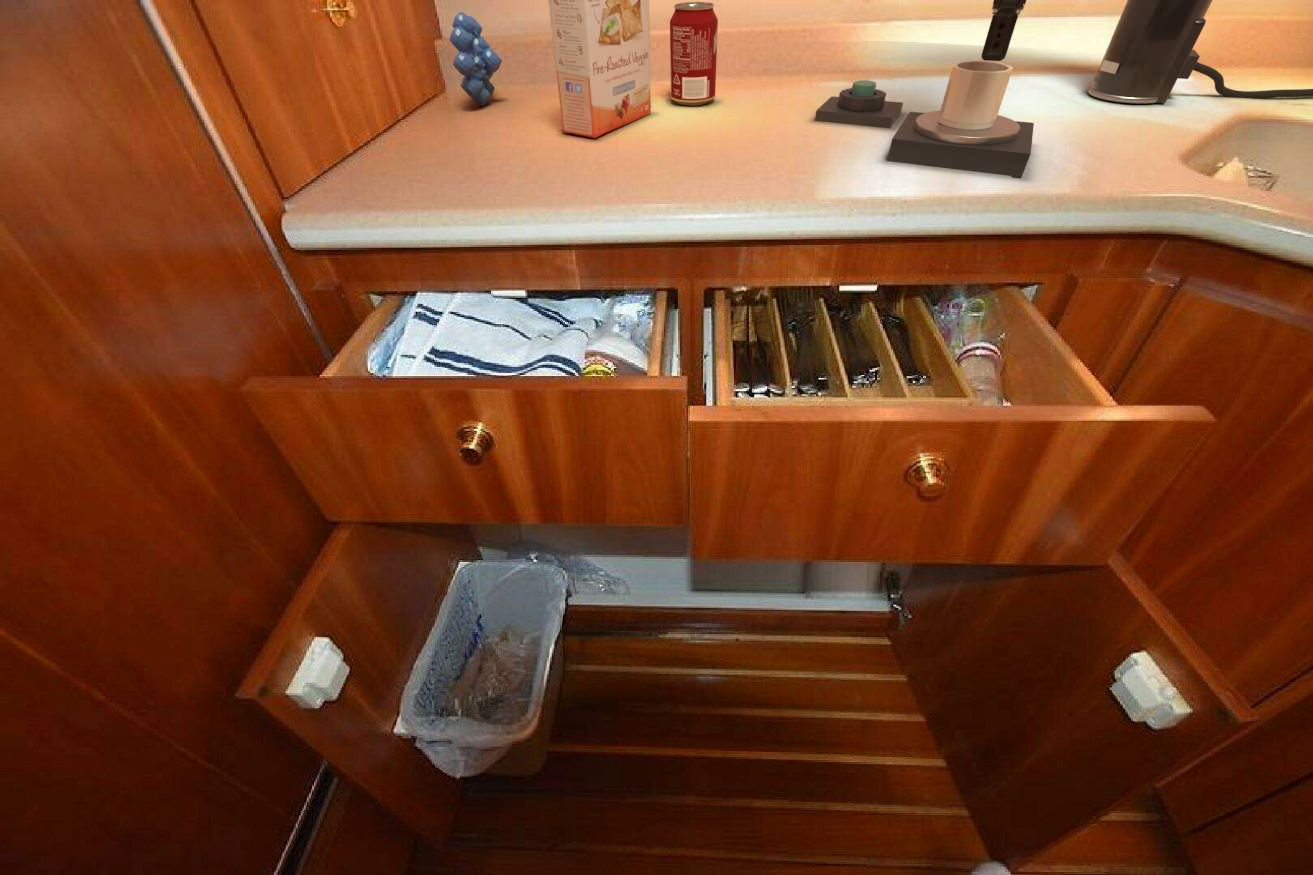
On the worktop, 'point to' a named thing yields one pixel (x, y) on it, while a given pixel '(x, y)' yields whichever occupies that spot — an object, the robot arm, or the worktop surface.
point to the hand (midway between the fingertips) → (994, 51)
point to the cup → (974, 94)
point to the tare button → (863, 88)
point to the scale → (963, 145)
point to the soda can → (693, 53)
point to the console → (860, 110)
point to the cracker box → (601, 63)
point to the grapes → (474, 58)
